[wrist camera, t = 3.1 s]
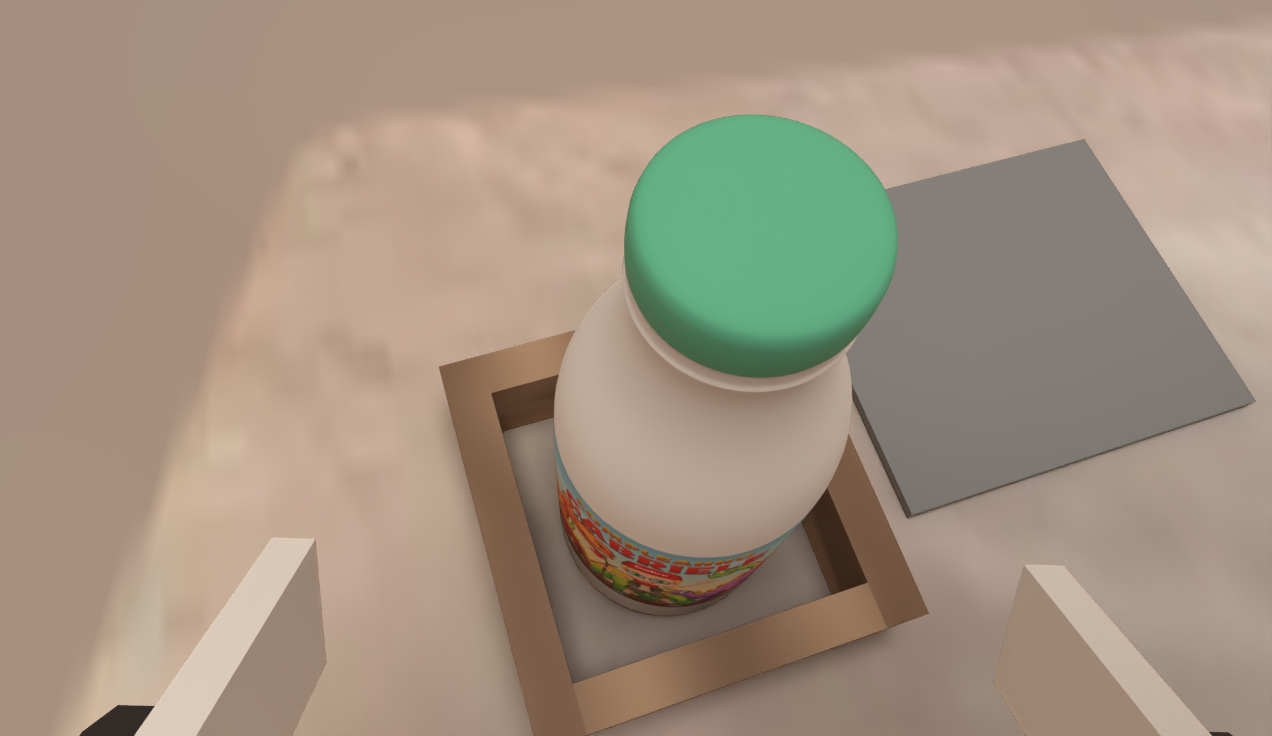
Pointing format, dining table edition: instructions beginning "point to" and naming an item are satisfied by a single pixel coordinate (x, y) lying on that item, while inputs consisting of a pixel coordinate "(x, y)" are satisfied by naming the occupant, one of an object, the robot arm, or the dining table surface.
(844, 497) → the walnut collar
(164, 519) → the dining table surface
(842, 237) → the milk bottle
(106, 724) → the robot arm
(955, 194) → the slate mat
